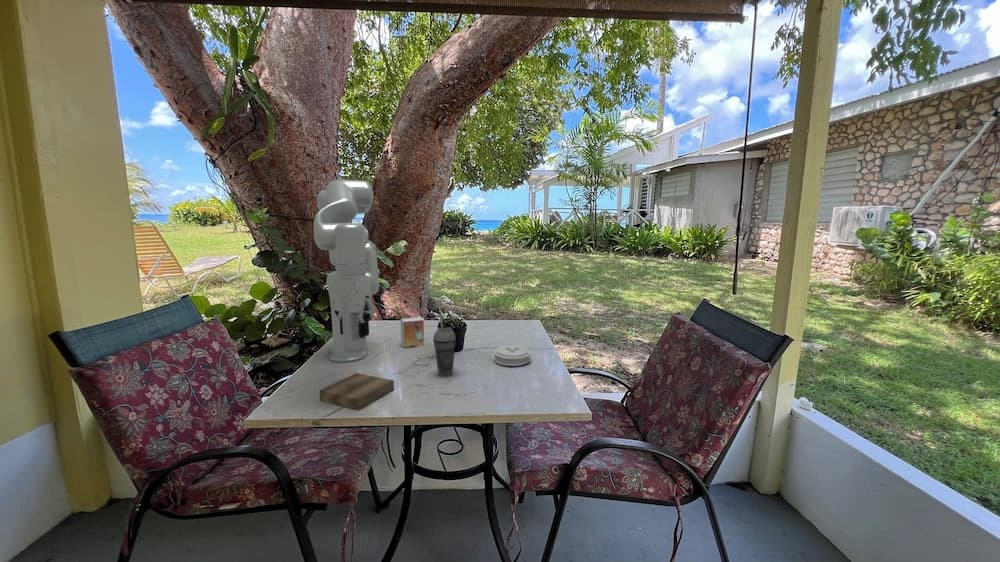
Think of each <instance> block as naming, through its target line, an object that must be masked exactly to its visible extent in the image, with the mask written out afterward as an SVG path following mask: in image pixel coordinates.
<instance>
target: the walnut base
mask: <svg viewBox="0 0 1000 562" xmlns="http://www.w3.org/2000/svg"><path fill="white" fill-rule="evenodd" d="M393 391H395V383H394V380H393V379H389V378H382V377H379V376H378V377H377V376H373V375H368V374H364V373H363V374H362V373H358V372H355V373H354V374H352V375H350V376H347V377H344V378H343V379H340V380H338V381H336V382H335V383H332V384H330V385H328V386H326V387H324V388H322V389H319V399H320V402H324V403H328V404H332V405H337V406H342V407H344V406H346V407H345V408H348V407H350V408H349V409H352V408H354V409H353V410H356V409H358V410H357V411H361V410H363V409H364V408H366V407H368V406H370V405H371V404H373V403H374V402H376V401H378V400H379V399H382V398H383V397H385V396H387V395H388V394H390V393H392V392H393ZM362 408H363V409H362ZM360 409H361V410H360Z"/></svg>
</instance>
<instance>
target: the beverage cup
mask: <svg viewBox="0 0 1000 562" xmlns="http://www.w3.org/2000/svg"><path fill="white" fill-rule="evenodd" d="M439 317H440V325H441V327H438V329H437V330H436V331H435V332H434V334H433V339H432V341H433V345H434V350H435V351H434V352H435V357H436V358H435V359H436V360H435V361H436V366H437V367H436V368H437V373H438V376H439V377H442V376H443V378H445V377H450V376H453V371H454V359H455V355H454V354H455V347H456V341H457V338H456V337H457V336H456V333H455V331H454V330H453V329H452V328H451V327H449V326H444V324H443V315H442V313H441V312H440V313H439Z"/></svg>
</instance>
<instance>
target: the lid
mask: <svg viewBox="0 0 1000 562" xmlns="http://www.w3.org/2000/svg"><path fill="white" fill-rule="evenodd" d="M493 354H494V358H493V360H494V362H495V363H497V364H499V365H504V366H509V367H511V366H512V367H513V366H514V367H515V366H522V365H526V364H528V363H530V361H531V357H530V355H531V351H530V350H529V349H528V347H527V348H526V347H525V346H522V345H516V344H515V345H509V344H508V345H502V346H499V347H498V348H496V349H495V350H494V352H493Z"/></svg>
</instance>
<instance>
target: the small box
mask: <svg viewBox="0 0 1000 562" xmlns="http://www.w3.org/2000/svg"><path fill="white" fill-rule="evenodd" d="M424 326H425V324H424V319H423V318H422V317H420V316H419V317H409V318H400V343H401V346H402V345H403V346H402V347H403V348H404V347H407V348H411V347H410V346H416V347H420V346H419V345H424V346H425V335H424V333H425V332H424V331H425V330H424V329H425V328H424Z"/></svg>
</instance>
